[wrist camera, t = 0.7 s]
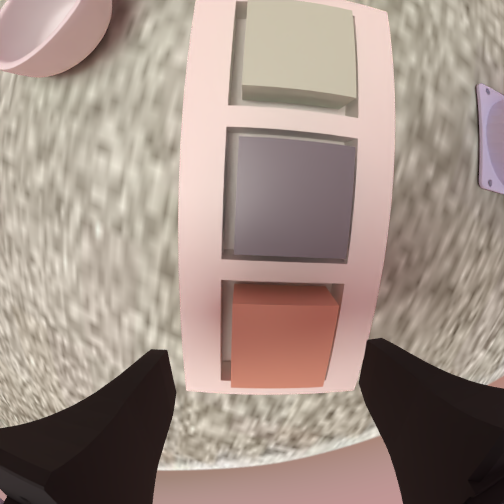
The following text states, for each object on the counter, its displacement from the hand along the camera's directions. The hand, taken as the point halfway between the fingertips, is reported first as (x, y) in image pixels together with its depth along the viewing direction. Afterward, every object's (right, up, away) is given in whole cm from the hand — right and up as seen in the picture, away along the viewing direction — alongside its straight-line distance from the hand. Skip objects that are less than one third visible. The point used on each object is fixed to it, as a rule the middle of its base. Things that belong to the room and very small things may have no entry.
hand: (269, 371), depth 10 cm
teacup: (-12, +20, +3) cm, 23 cm away
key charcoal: (+1, +7, +5) cm, 9 cm away
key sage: (+1, +14, +3) cm, 14 cm away
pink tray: (+1, +7, +6) cm, 10 cm away
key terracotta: (+1, 0, +7) cm, 7 cm away
